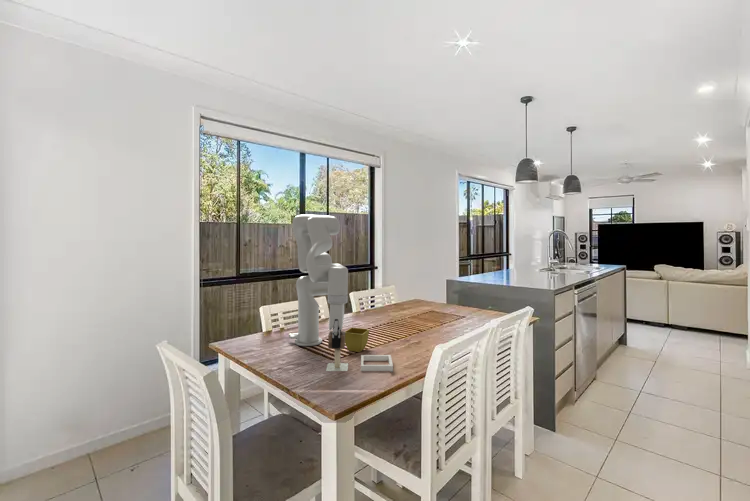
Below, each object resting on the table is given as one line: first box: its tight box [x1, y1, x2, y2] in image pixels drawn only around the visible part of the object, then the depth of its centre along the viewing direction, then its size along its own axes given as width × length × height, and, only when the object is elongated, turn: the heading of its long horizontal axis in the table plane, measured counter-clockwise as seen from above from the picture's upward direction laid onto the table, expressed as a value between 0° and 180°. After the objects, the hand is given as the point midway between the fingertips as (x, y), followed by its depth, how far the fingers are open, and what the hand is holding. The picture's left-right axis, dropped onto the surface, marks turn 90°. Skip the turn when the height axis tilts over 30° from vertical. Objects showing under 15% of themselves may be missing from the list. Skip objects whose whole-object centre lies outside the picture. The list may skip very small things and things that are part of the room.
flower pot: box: [344, 327, 370, 353], centre depth 160 cm, size 9×9×9 cm
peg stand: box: [325, 349, 349, 372], centre depth 139 cm, size 8×8×7 cm
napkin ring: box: [327, 330, 346, 350], centre depth 139 cm, size 6×6×5 cm
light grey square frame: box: [360, 354, 394, 373], centre depth 142 cm, size 12×12×2 cm
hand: (336, 344), depth 139 cm, fingers closed on napkin ring, 6 cm apart
